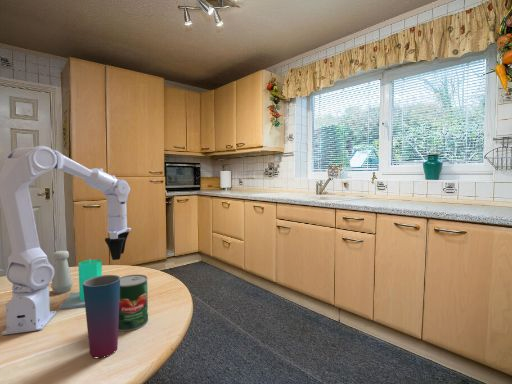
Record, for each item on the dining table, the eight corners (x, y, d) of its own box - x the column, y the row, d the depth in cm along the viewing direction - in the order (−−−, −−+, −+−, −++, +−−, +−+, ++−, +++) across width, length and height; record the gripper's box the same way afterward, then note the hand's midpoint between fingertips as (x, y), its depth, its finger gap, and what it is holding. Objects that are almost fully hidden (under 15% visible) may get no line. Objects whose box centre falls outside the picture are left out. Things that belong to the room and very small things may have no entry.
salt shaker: (77, 288, 95) (75, 249, 94) (64, 295, 89) (62, 253, 88) (60, 287, 95) (59, 249, 95) (46, 294, 89) (45, 253, 89)
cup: (127, 341, 63) (125, 274, 62) (113, 360, 56) (110, 286, 56) (96, 342, 63) (93, 275, 62) (77, 361, 56) (75, 286, 55)
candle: (96, 300, 83) (95, 259, 82) (75, 300, 83) (73, 259, 82) (106, 292, 89) (105, 254, 88) (86, 292, 89) (85, 254, 88)
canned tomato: (126, 334, 66) (125, 287, 65) (107, 325, 70) (105, 281, 69) (155, 320, 73) (154, 277, 72) (135, 312, 77) (134, 272, 76)
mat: (99, 304, 82) (99, 302, 82) (59, 309, 79) (59, 306, 79) (107, 291, 91) (107, 289, 91) (71, 295, 88) (71, 293, 88)
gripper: (127, 217, 88) (128, 261, 89) (133, 212, 102) (133, 250, 103) (101, 218, 86) (103, 263, 87) (111, 213, 100) (112, 251, 101)
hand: (118, 256), depth 95 cm, fingers open, 7 cm apart
